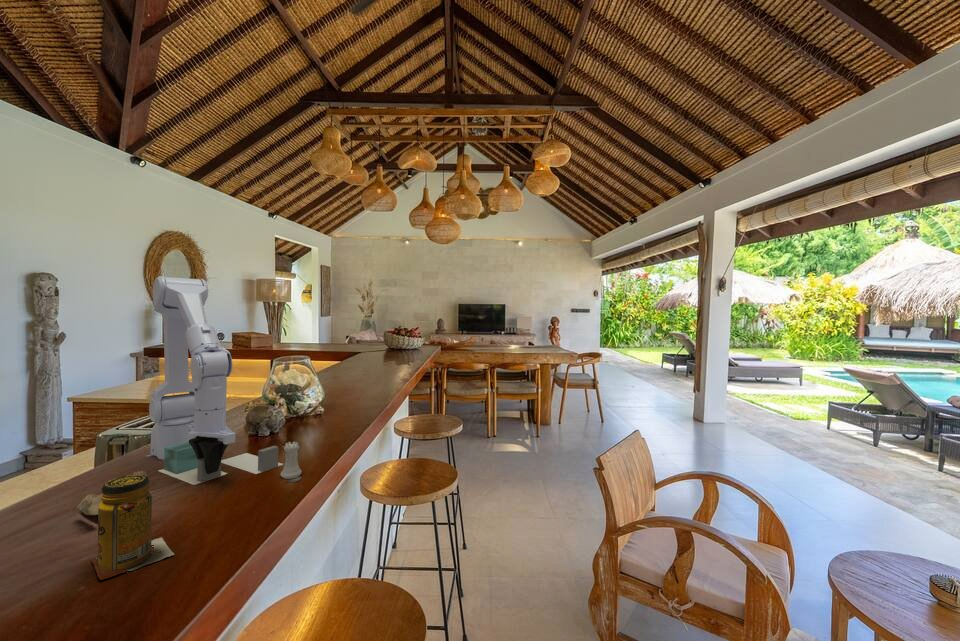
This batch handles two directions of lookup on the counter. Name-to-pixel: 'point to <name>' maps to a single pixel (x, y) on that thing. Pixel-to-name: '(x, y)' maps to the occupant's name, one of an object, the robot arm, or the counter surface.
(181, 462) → the teal block
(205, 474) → the cream strip
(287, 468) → the rook chess piece
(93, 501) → the seashell
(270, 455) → the cream and grey bookend
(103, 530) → the condiment
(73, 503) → the counter surface
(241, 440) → the counter surface
